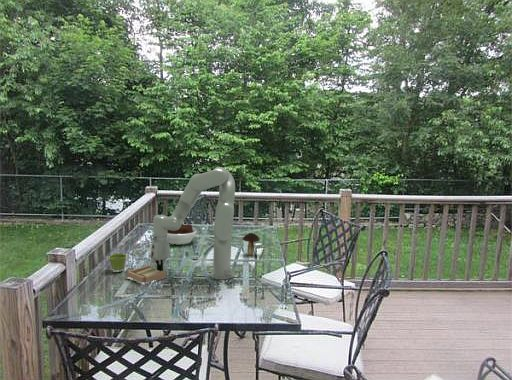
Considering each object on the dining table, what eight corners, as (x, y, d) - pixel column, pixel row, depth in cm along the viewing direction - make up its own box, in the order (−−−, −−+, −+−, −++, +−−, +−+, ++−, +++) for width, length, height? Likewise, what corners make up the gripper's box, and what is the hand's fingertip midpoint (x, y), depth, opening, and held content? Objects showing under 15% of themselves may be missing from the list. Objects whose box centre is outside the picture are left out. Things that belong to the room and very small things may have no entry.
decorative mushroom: (258, 258, 261) (259, 235, 259) (241, 257, 261) (242, 234, 259) (258, 253, 272) (259, 231, 270) (242, 252, 272) (243, 230, 270)
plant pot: (121, 275, 220) (121, 259, 219) (105, 273, 222) (105, 257, 221) (129, 269, 229) (129, 254, 228) (114, 268, 231) (114, 253, 230)
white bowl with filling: (158, 239, 296) (159, 218, 294) (193, 238, 304) (193, 218, 302) (161, 248, 272) (162, 226, 270) (199, 247, 280) (199, 225, 278)
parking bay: (165, 278, 218) (165, 271, 217) (144, 285, 207) (144, 278, 206) (148, 272, 226) (148, 265, 226) (126, 278, 215) (126, 271, 214)
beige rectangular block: (161, 276, 220) (162, 270, 220) (146, 282, 211) (147, 276, 210) (151, 273, 224) (151, 267, 223) (135, 279, 215) (135, 272, 214)
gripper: (154, 241, 213) (153, 275, 215) (175, 236, 225) (174, 269, 227) (144, 239, 217) (144, 272, 220) (166, 234, 229) (165, 266, 232)
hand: (159, 270), depth 224 cm, fingers closed
